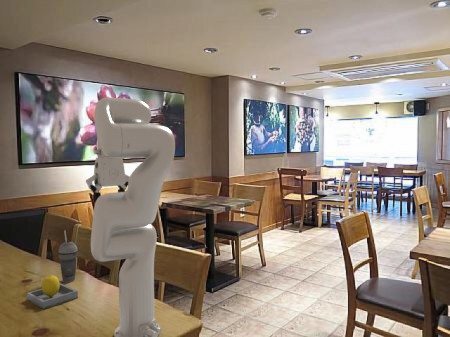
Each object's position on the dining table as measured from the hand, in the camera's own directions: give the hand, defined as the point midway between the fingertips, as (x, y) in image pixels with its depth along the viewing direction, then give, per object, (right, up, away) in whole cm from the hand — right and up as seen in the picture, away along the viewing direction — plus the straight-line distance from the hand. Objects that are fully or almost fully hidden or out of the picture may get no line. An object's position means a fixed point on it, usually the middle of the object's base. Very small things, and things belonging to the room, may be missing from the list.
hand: (109, 202), depth 133 cm
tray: (-19, -34, -2) cm, 39 cm away
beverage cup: (-21, -33, +17) cm, 42 cm away
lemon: (-20, -33, -2) cm, 39 cm away
